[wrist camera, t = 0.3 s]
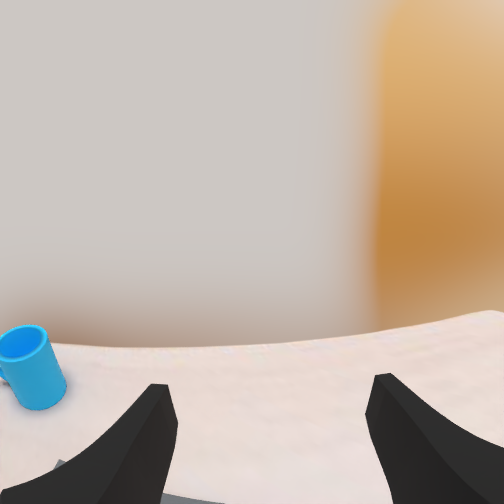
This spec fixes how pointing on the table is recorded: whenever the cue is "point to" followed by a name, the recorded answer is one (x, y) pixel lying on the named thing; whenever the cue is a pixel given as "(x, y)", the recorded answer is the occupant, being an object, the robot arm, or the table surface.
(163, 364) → the table surface
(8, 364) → the mug
